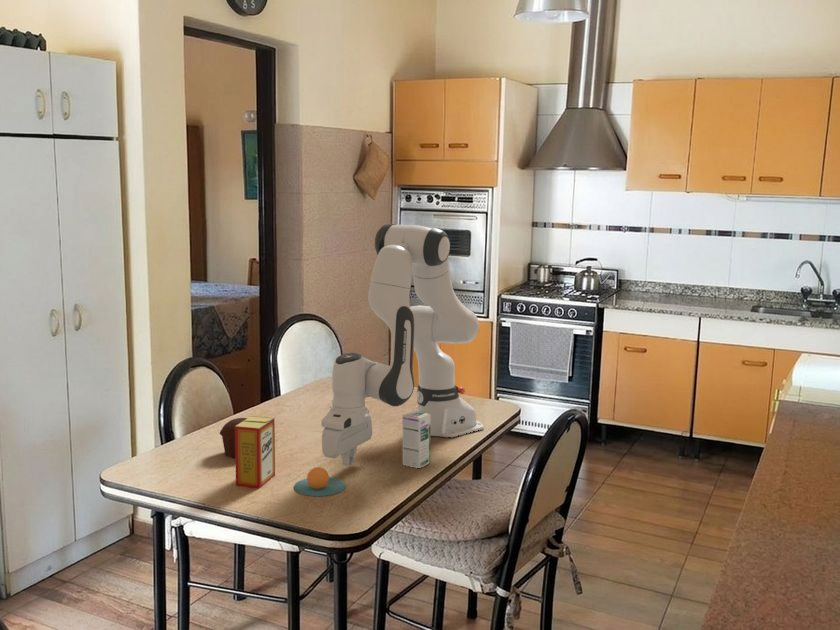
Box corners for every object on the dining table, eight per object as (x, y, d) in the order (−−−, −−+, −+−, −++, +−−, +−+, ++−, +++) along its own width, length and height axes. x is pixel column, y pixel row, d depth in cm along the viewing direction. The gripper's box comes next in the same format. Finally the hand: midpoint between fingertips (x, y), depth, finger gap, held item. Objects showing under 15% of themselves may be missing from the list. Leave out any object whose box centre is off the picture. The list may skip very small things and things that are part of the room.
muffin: (248, 444, 241) (247, 411, 239) (269, 454, 233) (269, 420, 232) (212, 453, 233) (211, 419, 231) (233, 463, 225) (232, 428, 223)
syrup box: (419, 469, 223) (420, 417, 221) (401, 465, 226) (402, 414, 224) (430, 463, 228) (431, 412, 225) (412, 459, 231) (413, 409, 228)
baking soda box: (259, 488, 207) (258, 427, 205) (235, 485, 209) (234, 424, 206) (275, 475, 217) (274, 416, 214) (252, 473, 218) (251, 414, 215)
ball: (324, 481, 212) (323, 461, 210) (333, 489, 207) (331, 469, 206) (304, 486, 209) (303, 466, 208) (312, 495, 205) (311, 474, 203)
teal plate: (333, 474, 218) (333, 473, 218) (354, 490, 207) (354, 490, 207) (286, 482, 212) (286, 481, 212) (305, 499, 200) (305, 499, 200)
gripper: (358, 403, 230) (357, 451, 232) (317, 422, 212) (317, 473, 214) (378, 406, 227) (377, 454, 229) (338, 425, 209) (338, 477, 211)
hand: (348, 464), depth 221 cm, fingers closed
